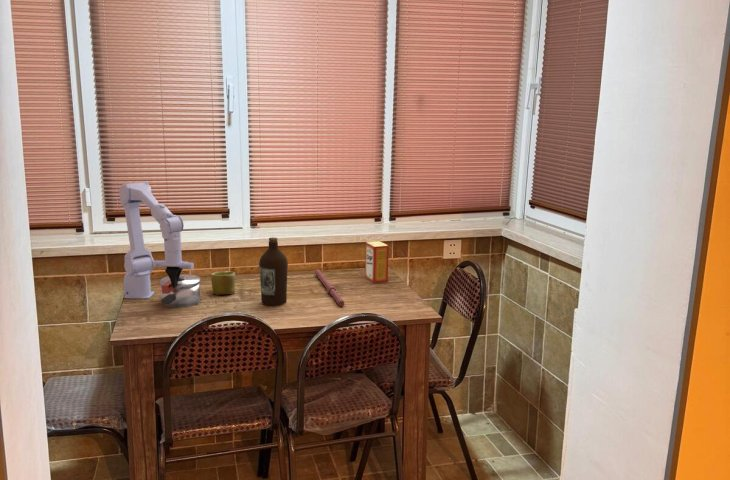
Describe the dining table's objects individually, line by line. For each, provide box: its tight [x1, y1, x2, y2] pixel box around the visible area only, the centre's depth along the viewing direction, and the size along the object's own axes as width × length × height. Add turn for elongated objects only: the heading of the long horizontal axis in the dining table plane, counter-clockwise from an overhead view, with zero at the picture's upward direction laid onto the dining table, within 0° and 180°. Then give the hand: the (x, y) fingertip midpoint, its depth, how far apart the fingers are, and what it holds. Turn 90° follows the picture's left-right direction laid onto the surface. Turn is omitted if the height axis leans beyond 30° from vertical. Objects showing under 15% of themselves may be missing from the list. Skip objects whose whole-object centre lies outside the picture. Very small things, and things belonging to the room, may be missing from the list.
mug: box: [210, 270, 236, 296], centre depth 256 cm, size 12×10×10 cm
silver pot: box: [160, 282, 201, 308], centre depth 240 cm, size 20×14×7 cm
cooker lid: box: [159, 273, 201, 295], centre depth 239 cm, size 21×15×3 cm
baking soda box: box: [364, 240, 389, 284], centre depth 276 cm, size 10×6×16 cm
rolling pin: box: [314, 268, 345, 307], centre depth 261 cm, size 45×3×3 cm, turn 16°
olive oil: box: [258, 236, 289, 307], centre depth 242 cm, size 11×11×25 cm
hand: (174, 286), depth 232 cm, fingers closed
